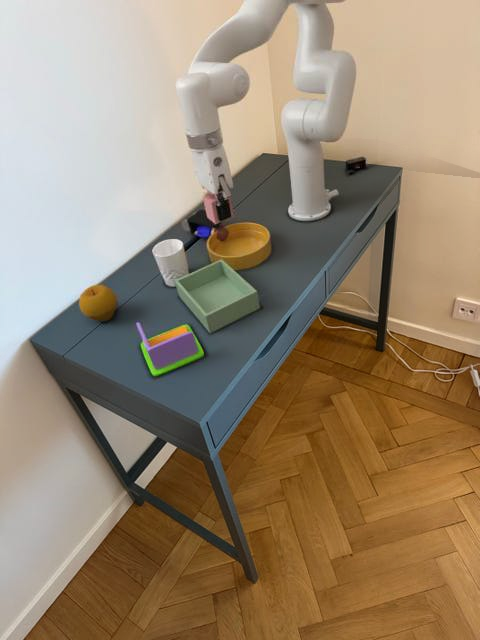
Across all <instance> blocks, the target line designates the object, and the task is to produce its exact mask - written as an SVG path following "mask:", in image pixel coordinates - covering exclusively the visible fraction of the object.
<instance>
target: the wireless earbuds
mask: <svg viewBox="0 0 480 640" xmlns="http://www.w3.org/2000/svg"><path fill="white" fill-rule="evenodd" d="M366 167H367V158H366V157H365V156H359V157H355V158H351V159H347V160H345V171H346V172H347V175H352V174H354V173H355V172H357V171H360V170H365V169H366Z"/></svg>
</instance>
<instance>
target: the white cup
mask: <svg viewBox="0 0 480 640" xmlns="http://www.w3.org/2000/svg"><path fill="white" fill-rule="evenodd" d="M152 254H153V257H154V259H155V263H156V264H157V267H158V269H159V272H160V275H161V276H162V278H163V280H164V283H165V285H166V286H168V287H172V288H173V287H176V284H175V280H177V279H179V278H181V277H184V276H186V275H188V274H190V271H189V265H188V259H187V254H186V251H185V246H184V243H183V241H182V240H180V239H177V238H170V239H165V240H162V241H159V242H158V243H157V244H155V245H154V247H153V248H152ZM176 288H177V287H176Z"/></svg>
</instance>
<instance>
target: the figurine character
mask: <svg viewBox="0 0 480 640" xmlns="http://www.w3.org/2000/svg"><path fill="white" fill-rule="evenodd" d="M223 222H224V221H222V222H220V223H218V224H215V223H214V222H212V221H211V220H210V219H209V218H207V214H206V209H199V210H198V211H195V212H194V213H192V214H191V216H189V217H188V218H184V219H183V220H182V221H181V227H182V228H183V230H184V231H186V232H189V233H190V234H191V235H192V236H196V237H199V238H208V239H209V237H210V236H211V235H212V234H213V233H214V232H215V231H218V233H217V239H219V240H220V241H225V240H226V239H227V237H228V230H227V229H226V228H225V226H226V225H224V224H222V223H223Z"/></svg>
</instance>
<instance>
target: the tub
mask: <svg viewBox="0 0 480 640" xmlns="http://www.w3.org/2000/svg"><path fill="white" fill-rule="evenodd" d="M175 284H176V291H177V293H178V297H179V298H180V299H181V301H182V302H183V303H184V304H185V306H187V308H188V309H189V310H190V311H191V312H192V313H193V315H194V316H195V317H196V318H197V319H198V321H199V322H200V323H201V324H202V325H203V327H204V328H205V329H206V331H208V333H209V334H212V333H214V332H216V331H218V330H220V329H222V328H224V327H225V326H227V325H230V324H232V323H233V322H236V321H237V320H240V319H241V318H244V317H245V316H248V315H249V314H251V313H253V312H255V311H257V310H259V309H261V305H260V299H259V293H258V291H257V289H255V288H254V287H253V285H251V284H250V283H249V282H248V281H247V280H245V279H244V278H243V277H242V276H241V275H240V274H239V273H238V272H236V270H233V269H232V268H231V267H230V266H229V265H228V264H226V263H225V262H224V261H223V260H222V259H221V260H219V261H217V262H214V263H210V264H208V265H206V266H204V267H201V268H199V269H197V270H195V271H193V272H189V274H188V275H186V276H184V277H181V278H179V279H177V280H175Z"/></svg>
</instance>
